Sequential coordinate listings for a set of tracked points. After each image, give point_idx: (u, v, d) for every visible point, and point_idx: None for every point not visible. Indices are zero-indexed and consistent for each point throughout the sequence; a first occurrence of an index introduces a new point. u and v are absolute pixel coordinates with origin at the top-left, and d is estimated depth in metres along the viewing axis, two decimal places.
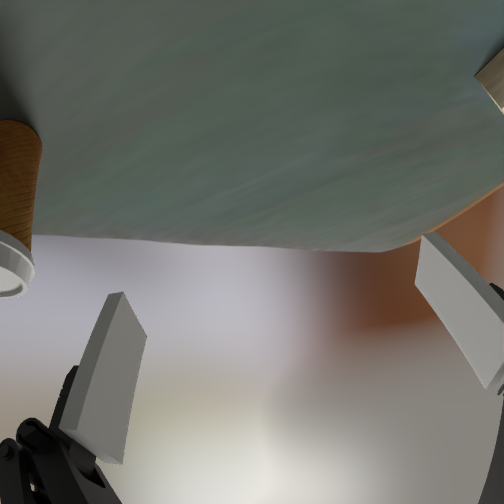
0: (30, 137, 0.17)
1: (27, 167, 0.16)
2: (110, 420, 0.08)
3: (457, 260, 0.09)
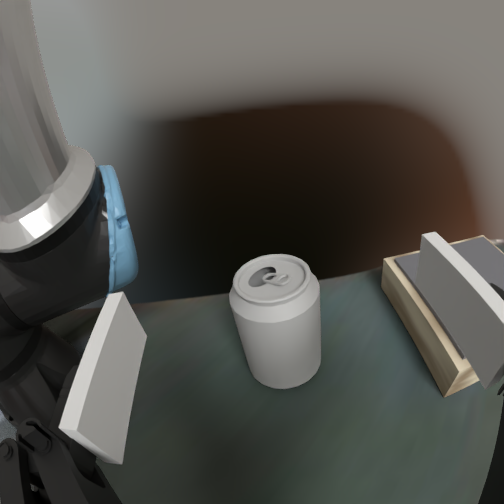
0: None
1: None
2: (110, 420, 0.08)
3: (457, 260, 0.09)
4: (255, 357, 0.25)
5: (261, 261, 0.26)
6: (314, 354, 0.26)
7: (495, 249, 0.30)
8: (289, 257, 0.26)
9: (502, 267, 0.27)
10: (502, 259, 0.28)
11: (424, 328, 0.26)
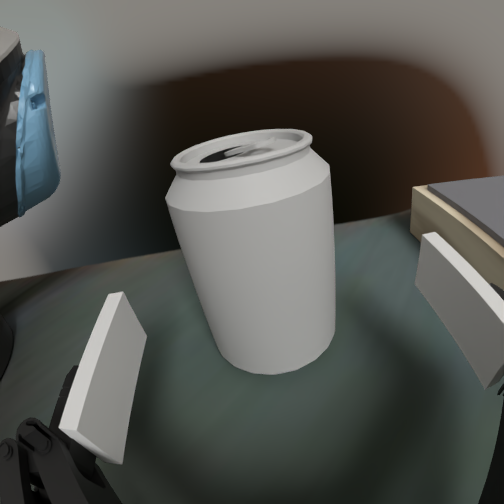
0: None
1: None
2: (110, 420, 0.08)
3: (457, 260, 0.09)
4: (214, 309, 0.14)
5: (228, 142, 0.15)
6: (326, 306, 0.14)
7: None
8: (274, 131, 0.14)
9: None
10: None
11: (492, 268, 0.14)
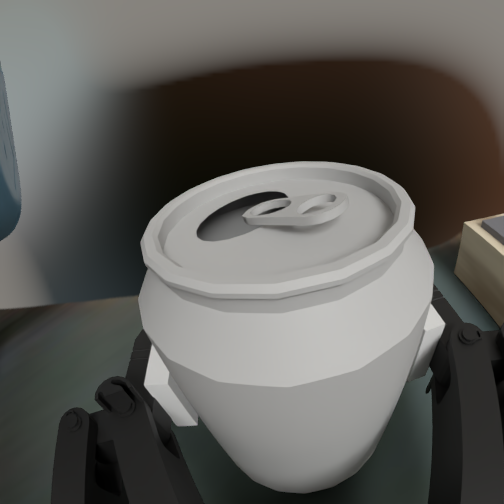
0: None
1: None
2: None
3: None
4: (229, 450, 0.08)
5: (245, 181, 0.09)
6: (384, 428, 0.08)
7: None
8: (324, 165, 0.08)
9: None
10: None
11: None
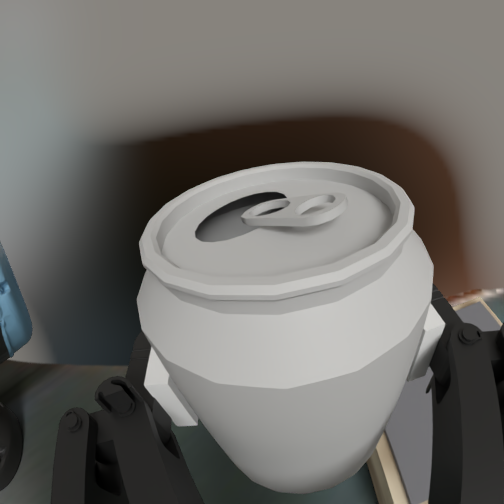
0: None
1: None
2: None
3: None
4: (228, 450, 0.08)
5: (243, 181, 0.09)
6: (383, 429, 0.08)
7: (493, 322, 0.22)
8: (323, 166, 0.08)
9: None
10: None
11: (373, 453, 0.17)
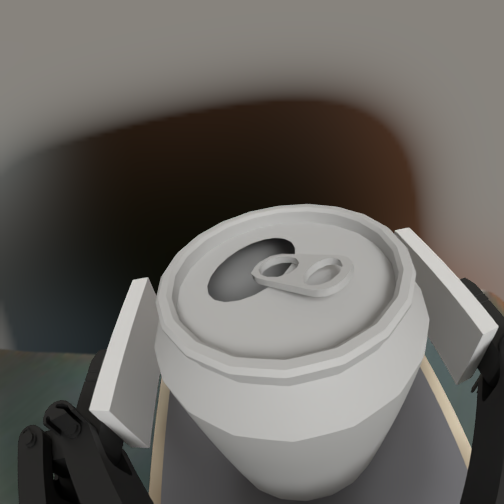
0: None
1: None
2: (139, 402, 0.09)
3: (428, 255, 0.10)
4: (237, 468, 0.08)
5: (251, 224, 0.09)
6: (378, 447, 0.09)
7: None
8: (330, 211, 0.09)
9: None
10: None
11: None
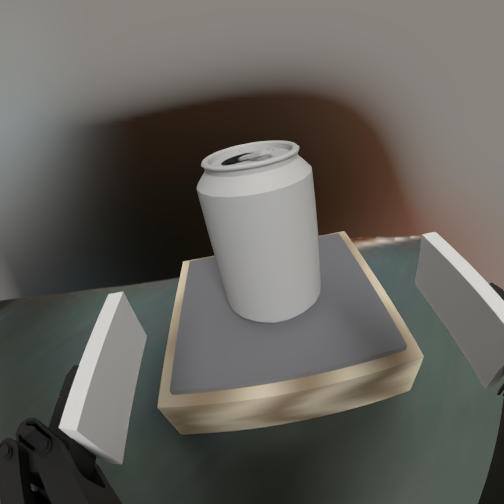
0: None
1: None
2: (110, 420, 0.08)
3: (457, 260, 0.09)
4: (229, 268, 0.19)
5: (240, 149, 0.21)
6: (311, 268, 0.20)
7: (344, 250, 0.28)
8: (273, 142, 0.20)
9: (336, 276, 0.25)
10: (346, 264, 0.26)
11: None
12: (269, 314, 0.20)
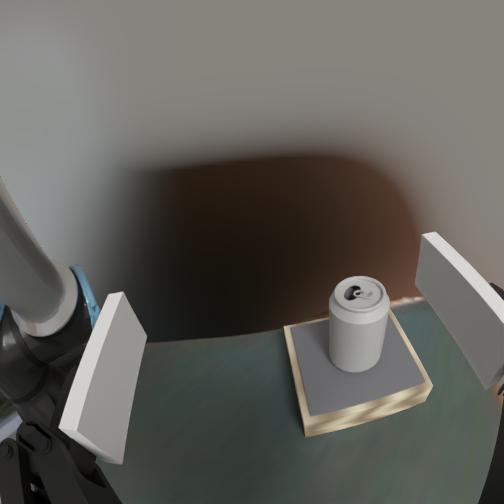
0: None
1: None
2: (110, 420, 0.08)
3: (457, 260, 0.09)
4: (344, 350, 0.34)
5: (348, 281, 0.35)
6: (381, 345, 0.35)
7: (389, 320, 0.43)
8: (368, 278, 0.35)
9: (386, 339, 0.40)
10: (391, 331, 0.41)
11: None
12: (358, 368, 0.35)
